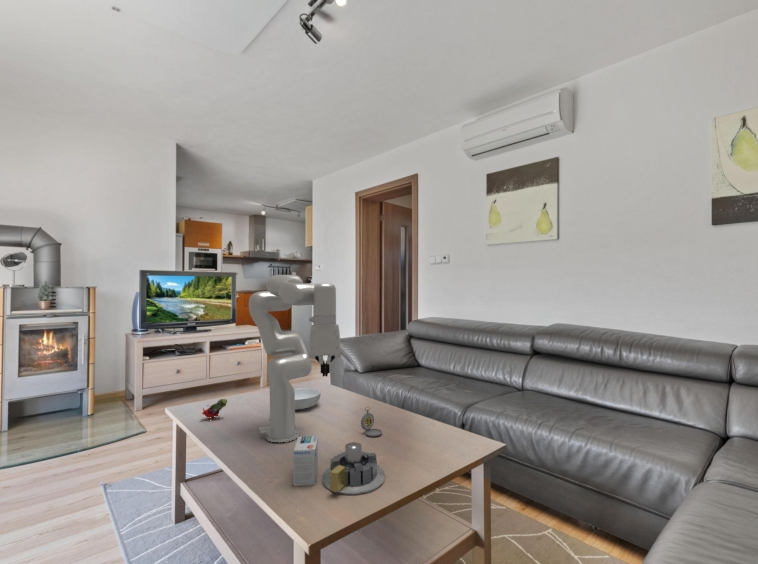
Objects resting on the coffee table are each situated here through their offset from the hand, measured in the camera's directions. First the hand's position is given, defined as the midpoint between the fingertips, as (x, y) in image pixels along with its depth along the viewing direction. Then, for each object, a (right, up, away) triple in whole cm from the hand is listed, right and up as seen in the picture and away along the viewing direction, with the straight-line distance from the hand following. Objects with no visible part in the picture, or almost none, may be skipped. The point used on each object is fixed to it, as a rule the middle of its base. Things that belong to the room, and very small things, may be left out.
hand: (325, 375), depth 129 cm
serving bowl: (-21, -30, +60) cm, 70 cm away
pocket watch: (+15, -30, +25) cm, 41 cm away
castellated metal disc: (+10, -28, -12) cm, 32 cm away
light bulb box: (-5, -29, -10) cm, 31 cm away
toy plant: (-56, -30, +44) cm, 77 cm away
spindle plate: (+10, -29, -11) cm, 33 cm away
